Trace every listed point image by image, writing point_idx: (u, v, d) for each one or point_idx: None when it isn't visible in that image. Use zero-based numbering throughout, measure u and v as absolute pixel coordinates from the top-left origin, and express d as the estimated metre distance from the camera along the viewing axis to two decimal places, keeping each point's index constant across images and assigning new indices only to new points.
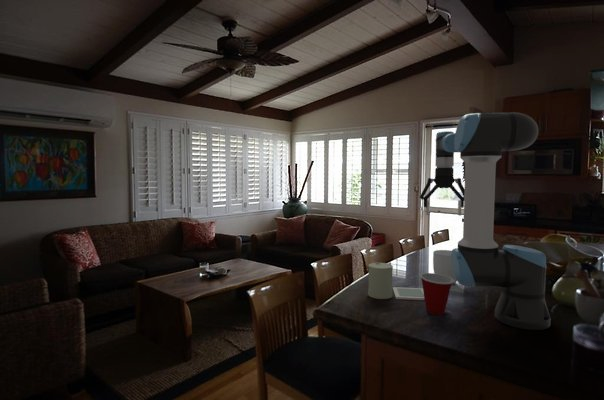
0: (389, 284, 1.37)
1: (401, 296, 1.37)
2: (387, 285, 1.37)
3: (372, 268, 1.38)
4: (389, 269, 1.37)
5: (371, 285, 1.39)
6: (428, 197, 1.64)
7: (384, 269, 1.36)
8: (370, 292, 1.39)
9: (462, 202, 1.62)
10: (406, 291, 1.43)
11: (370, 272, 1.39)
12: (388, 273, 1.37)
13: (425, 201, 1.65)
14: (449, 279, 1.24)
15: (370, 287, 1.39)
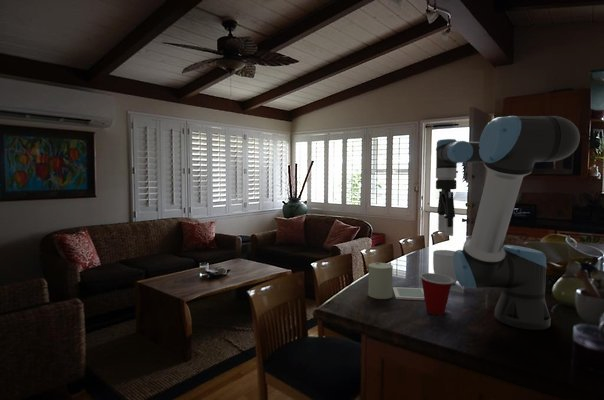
0: (389, 284, 1.37)
1: (401, 296, 1.37)
2: (387, 285, 1.37)
3: (372, 268, 1.38)
4: (389, 269, 1.37)
5: (371, 285, 1.39)
6: (439, 211, 1.52)
7: (384, 269, 1.36)
8: (370, 292, 1.39)
9: (447, 220, 1.38)
10: (406, 291, 1.43)
11: (370, 272, 1.39)
12: (388, 273, 1.37)
13: None
14: (449, 279, 1.24)
15: (370, 287, 1.39)
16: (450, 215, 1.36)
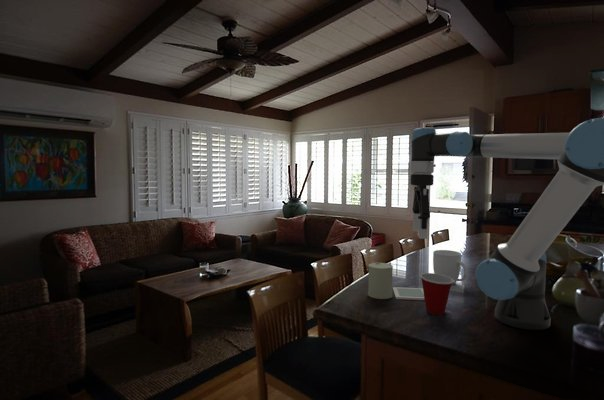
0: (389, 284, 1.37)
1: (401, 296, 1.37)
2: (387, 285, 1.37)
3: (372, 268, 1.38)
4: (389, 269, 1.37)
5: (371, 285, 1.39)
6: (414, 210, 1.35)
7: (384, 269, 1.36)
8: (370, 292, 1.39)
9: (422, 221, 1.21)
10: (406, 291, 1.43)
11: (370, 272, 1.39)
12: (388, 273, 1.37)
13: None
14: (449, 279, 1.24)
15: (370, 287, 1.39)
16: (424, 216, 1.18)
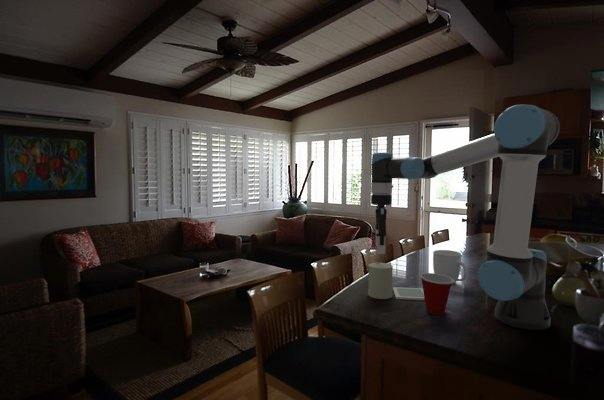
0: (389, 284, 1.37)
1: (401, 296, 1.37)
2: (387, 285, 1.37)
3: (372, 268, 1.38)
4: (389, 269, 1.37)
5: (371, 285, 1.39)
6: (376, 226, 1.46)
7: (384, 269, 1.36)
8: (370, 292, 1.39)
9: (379, 238, 1.32)
10: (406, 291, 1.43)
11: (370, 272, 1.39)
12: (388, 273, 1.37)
13: None
14: (449, 279, 1.24)
15: (370, 287, 1.39)
16: (381, 233, 1.30)
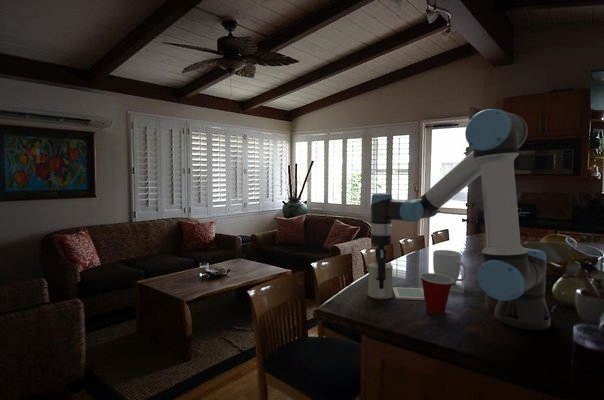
0: (389, 284, 1.37)
1: (401, 296, 1.37)
2: (387, 285, 1.37)
3: (372, 268, 1.38)
4: (389, 269, 1.37)
5: (371, 285, 1.39)
6: None
7: None
8: (370, 292, 1.39)
9: (379, 282, 1.35)
10: (406, 291, 1.43)
11: (370, 272, 1.39)
12: (388, 273, 1.37)
13: None
14: (449, 279, 1.24)
15: (370, 287, 1.39)
16: (381, 278, 1.33)
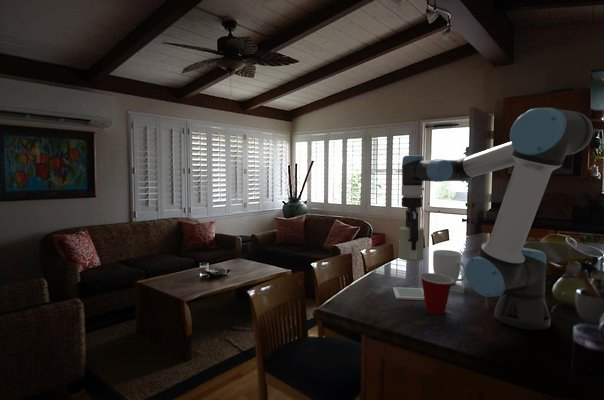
0: (421, 246, 1.37)
1: (401, 296, 1.37)
2: (419, 247, 1.36)
3: (404, 230, 1.37)
4: (421, 231, 1.36)
5: (402, 248, 1.38)
6: None
7: None
8: (401, 255, 1.39)
9: (411, 243, 1.35)
10: (406, 291, 1.43)
11: (401, 235, 1.38)
12: (420, 235, 1.36)
13: None
14: (449, 279, 1.24)
15: (401, 250, 1.39)
16: (413, 239, 1.32)
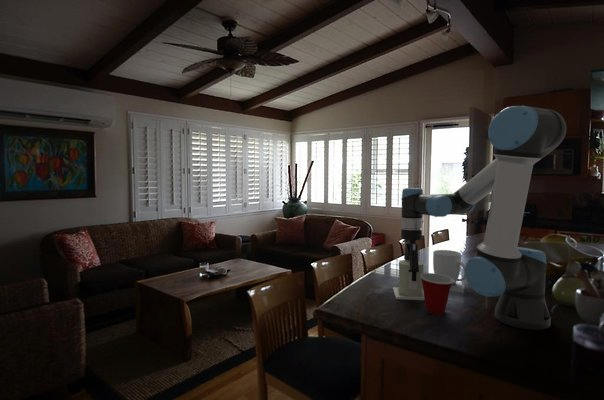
0: (420, 281, 1.38)
1: (401, 296, 1.37)
2: (418, 282, 1.37)
3: (403, 265, 1.38)
4: (420, 266, 1.37)
5: (401, 283, 1.39)
6: (405, 259, 1.47)
7: None
8: (401, 289, 1.40)
9: (412, 274, 1.33)
10: None
11: (401, 269, 1.39)
12: (419, 270, 1.37)
13: None
14: (449, 279, 1.24)
15: (401, 284, 1.40)
16: (414, 270, 1.31)
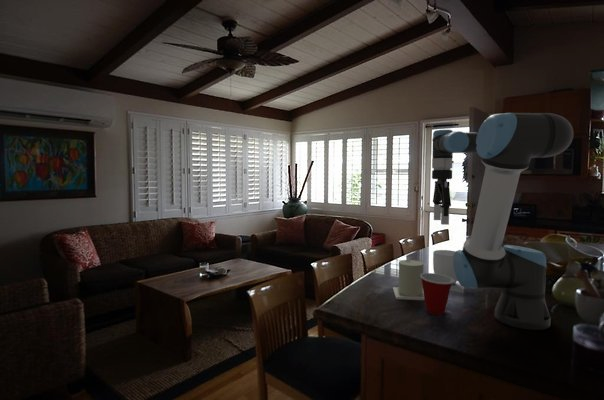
0: (420, 281, 1.38)
1: (401, 296, 1.37)
2: (418, 282, 1.37)
3: (403, 265, 1.38)
4: (420, 266, 1.37)
5: (401, 283, 1.39)
6: (434, 201, 1.55)
7: (416, 266, 1.36)
8: (401, 289, 1.40)
9: (444, 209, 1.41)
10: None
11: (401, 269, 1.39)
12: (419, 270, 1.37)
13: None
14: (449, 279, 1.24)
15: (401, 284, 1.40)
16: (446, 204, 1.38)
